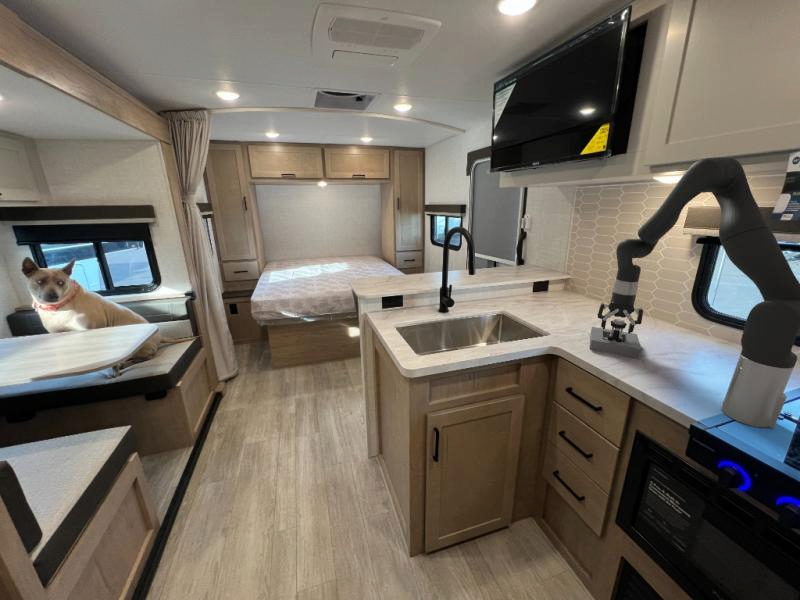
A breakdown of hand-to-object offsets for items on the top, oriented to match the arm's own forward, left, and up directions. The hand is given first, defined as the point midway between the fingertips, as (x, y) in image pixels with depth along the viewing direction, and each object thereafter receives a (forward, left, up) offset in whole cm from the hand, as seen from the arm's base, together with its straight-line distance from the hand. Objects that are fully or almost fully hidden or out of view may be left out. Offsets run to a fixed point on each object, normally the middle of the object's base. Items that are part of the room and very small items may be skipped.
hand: (616, 330), depth 126 cm
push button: (0, 0, -6) cm, 6 cm away
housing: (0, 0, -7) cm, 7 cm away
